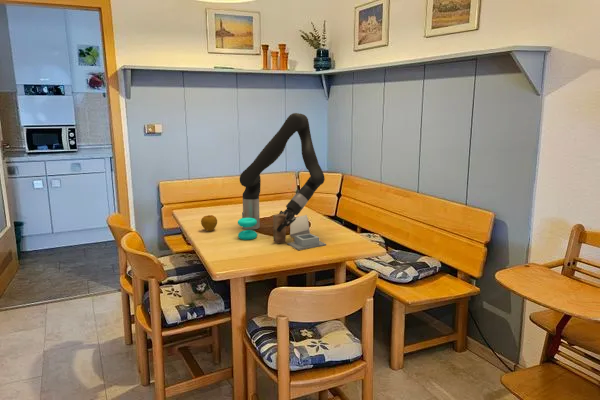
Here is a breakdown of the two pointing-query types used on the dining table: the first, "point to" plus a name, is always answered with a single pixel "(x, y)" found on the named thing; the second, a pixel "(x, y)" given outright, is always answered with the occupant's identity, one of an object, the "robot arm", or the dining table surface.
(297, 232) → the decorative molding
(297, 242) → the grey open box
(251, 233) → the donuts
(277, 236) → the brown cylinder
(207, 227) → the apple
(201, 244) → the dining table surface
